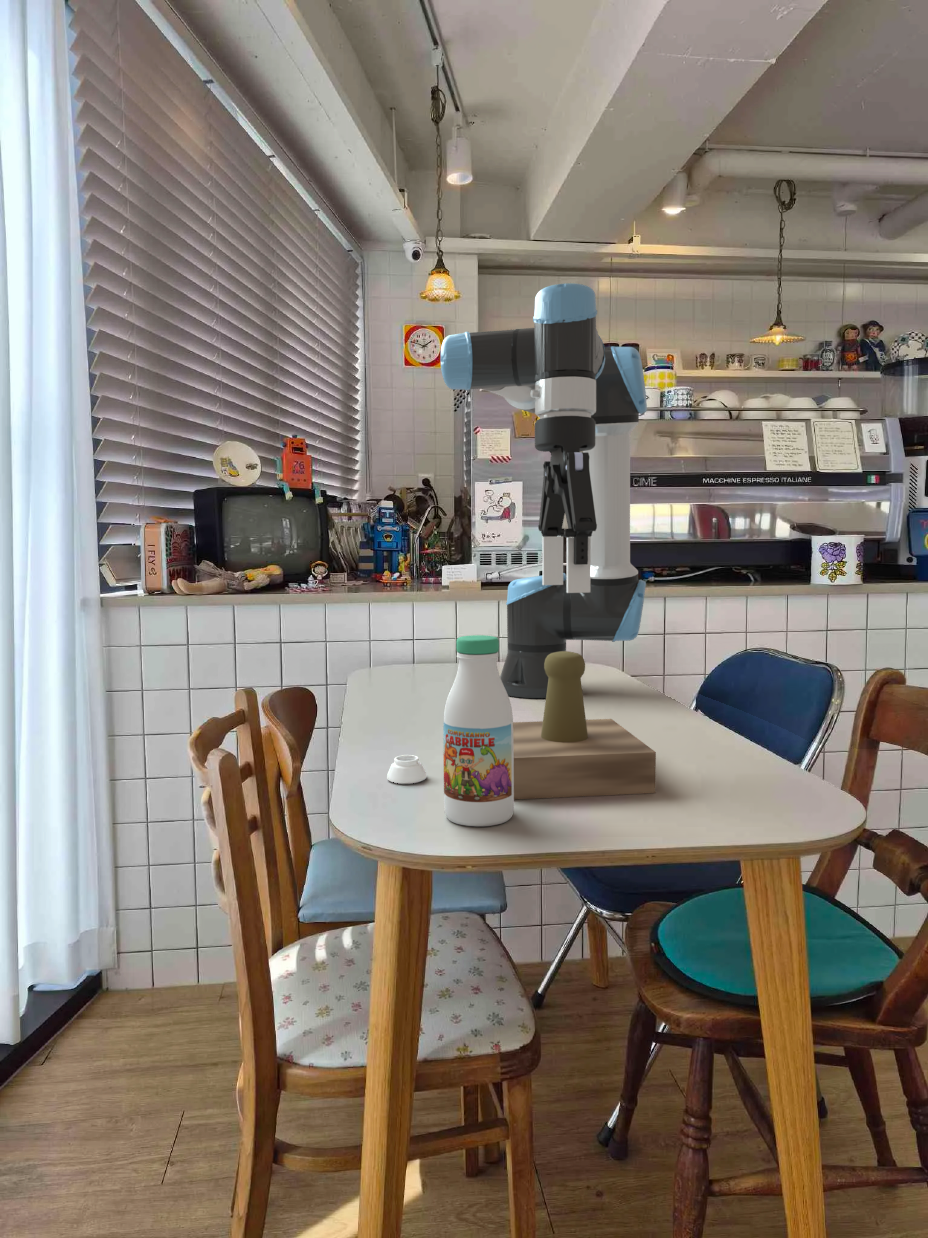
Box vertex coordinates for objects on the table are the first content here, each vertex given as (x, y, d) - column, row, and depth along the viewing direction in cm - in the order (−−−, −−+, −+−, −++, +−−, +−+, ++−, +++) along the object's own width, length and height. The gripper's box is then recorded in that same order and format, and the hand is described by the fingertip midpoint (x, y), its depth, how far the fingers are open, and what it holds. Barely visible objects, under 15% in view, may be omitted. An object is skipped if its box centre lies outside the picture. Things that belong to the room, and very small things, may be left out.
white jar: (387, 775, 106) (387, 787, 101) (387, 753, 105) (386, 764, 100) (425, 774, 106) (427, 785, 101) (425, 752, 106) (426, 762, 101)
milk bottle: (448, 804, 94) (446, 632, 92) (515, 805, 93) (514, 632, 91) (439, 827, 86) (437, 641, 84) (512, 829, 85) (511, 641, 83)
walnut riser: (485, 758, 113) (485, 723, 112) (611, 753, 115) (611, 718, 114) (507, 800, 95) (506, 758, 94) (655, 792, 97) (655, 752, 96)
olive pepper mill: (586, 743, 101) (587, 656, 100) (538, 741, 102) (538, 655, 101) (589, 731, 107) (589, 649, 105) (543, 730, 108) (543, 648, 107)
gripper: (517, 430, 112) (517, 582, 114) (558, 401, 87) (558, 597, 90) (569, 430, 113) (569, 581, 115) (625, 402, 88) (623, 595, 91)
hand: (564, 588), depth 102 cm, fingers open, 13 cm apart
